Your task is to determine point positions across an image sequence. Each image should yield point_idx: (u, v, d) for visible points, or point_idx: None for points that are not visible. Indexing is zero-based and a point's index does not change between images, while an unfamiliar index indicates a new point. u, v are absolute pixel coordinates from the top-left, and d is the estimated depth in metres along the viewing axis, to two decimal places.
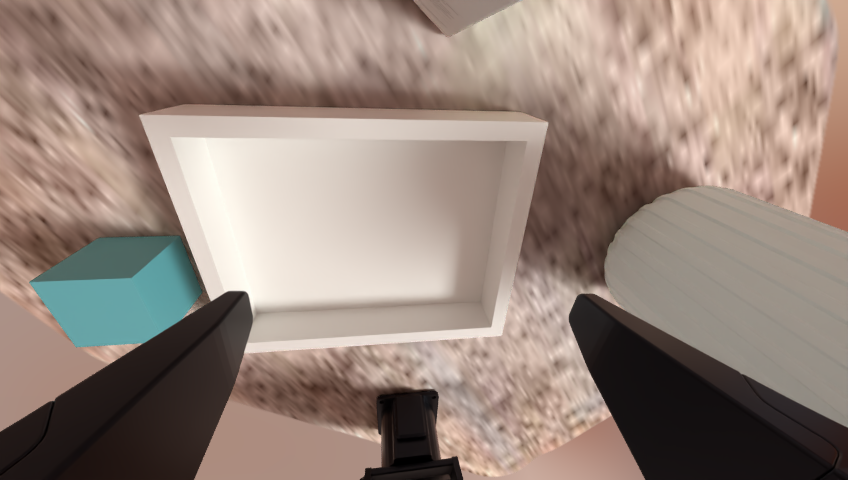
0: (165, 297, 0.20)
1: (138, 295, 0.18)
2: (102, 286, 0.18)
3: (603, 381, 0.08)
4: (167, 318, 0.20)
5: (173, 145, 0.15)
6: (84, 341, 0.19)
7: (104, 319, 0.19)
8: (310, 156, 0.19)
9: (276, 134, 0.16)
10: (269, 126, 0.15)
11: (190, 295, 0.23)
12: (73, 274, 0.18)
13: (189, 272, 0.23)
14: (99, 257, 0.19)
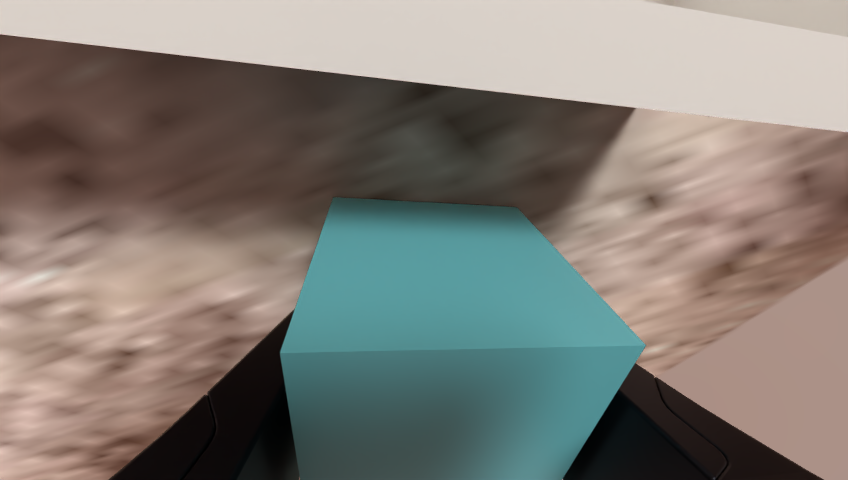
0: (462, 280, 0.06)
1: (384, 358, 0.04)
2: (325, 429, 0.05)
3: None
4: (547, 300, 0.05)
5: None
6: None
7: (474, 452, 0.05)
8: None
9: None
10: None
11: (508, 227, 0.08)
12: None
13: (442, 211, 0.08)
14: None
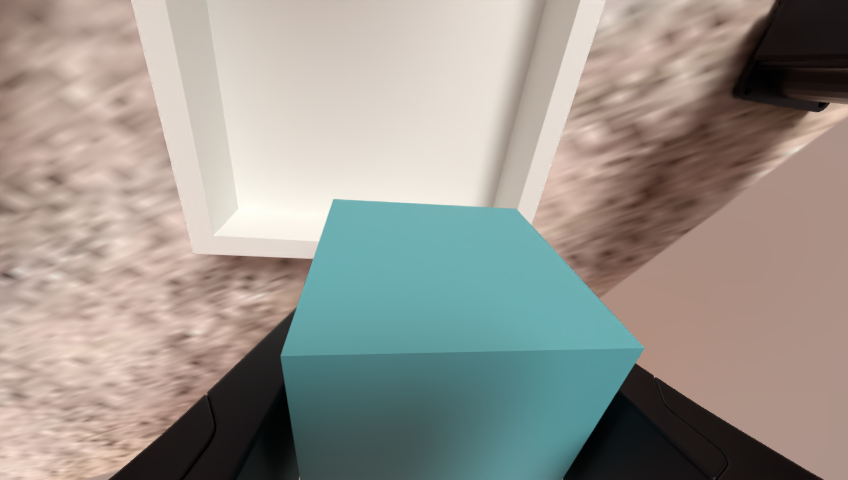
0: (462, 282, 0.06)
1: (384, 360, 0.04)
2: (325, 431, 0.05)
3: None
4: (546, 303, 0.05)
5: (224, 235, 0.14)
6: None
7: (474, 454, 0.05)
8: (261, 96, 0.14)
9: (184, 120, 0.12)
10: (174, 127, 0.12)
11: (507, 229, 0.08)
12: None
13: (442, 213, 0.08)
14: None
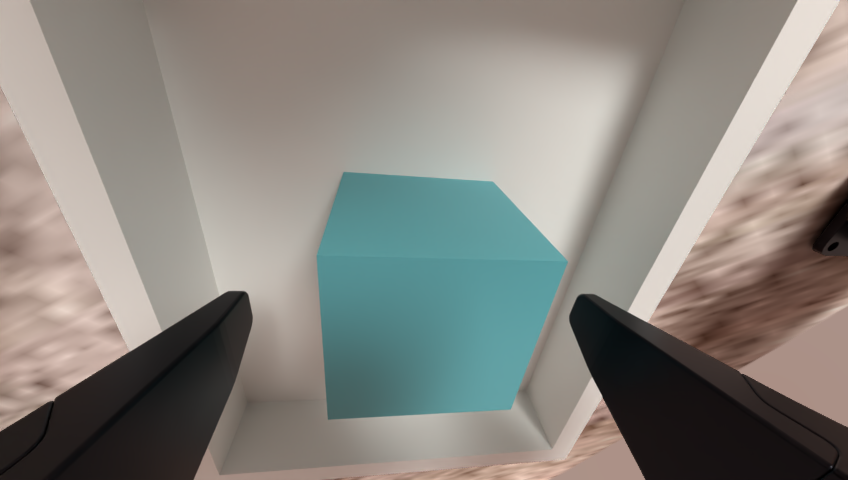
0: (443, 223, 0.07)
1: (384, 263, 0.06)
2: (343, 321, 0.07)
3: (603, 381, 0.08)
4: (503, 237, 0.07)
5: (231, 472, 0.12)
6: (502, 395, 0.09)
7: (452, 350, 0.07)
8: (270, 309, 0.12)
9: None
10: None
11: (483, 194, 0.10)
12: None
13: (431, 182, 0.10)
14: None
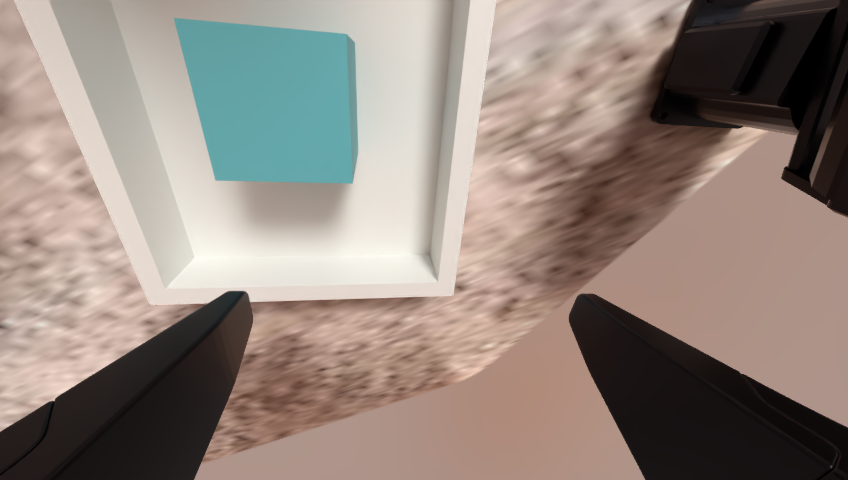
0: None
1: (220, 27, 0.10)
2: (204, 80, 0.10)
3: (603, 381, 0.08)
4: None
5: (175, 288, 0.16)
6: (341, 167, 0.12)
7: (289, 115, 0.11)
8: (200, 161, 0.16)
9: (123, 197, 0.14)
10: (116, 203, 0.14)
11: None
12: None
13: None
14: None
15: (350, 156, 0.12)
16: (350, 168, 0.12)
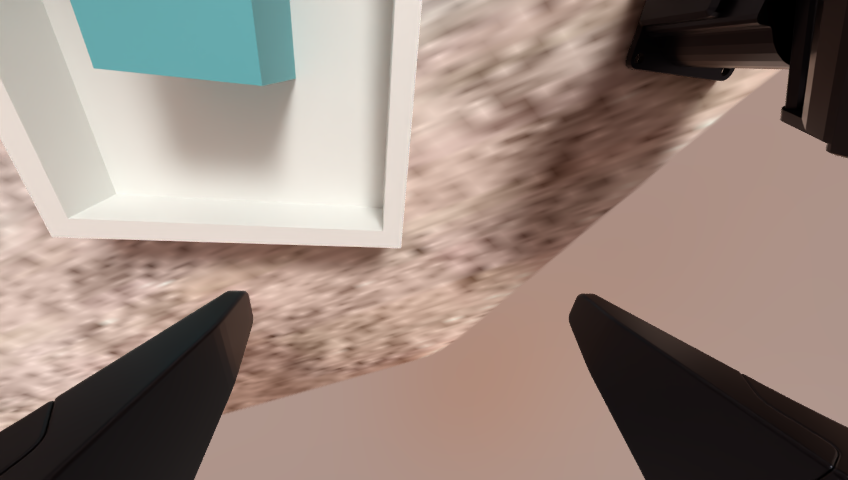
0: None
1: None
2: None
3: (603, 381, 0.08)
4: None
5: (79, 218, 0.14)
6: (246, 62, 0.10)
7: None
8: (113, 76, 0.14)
9: (4, 99, 0.12)
10: None
11: None
12: None
13: None
14: None
15: (256, 49, 0.10)
16: (257, 65, 0.10)
